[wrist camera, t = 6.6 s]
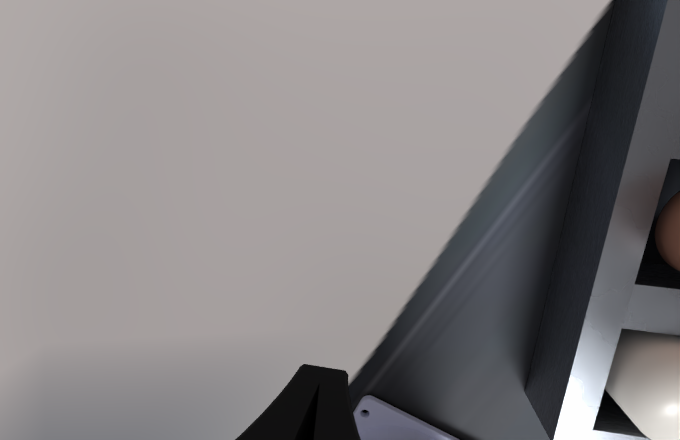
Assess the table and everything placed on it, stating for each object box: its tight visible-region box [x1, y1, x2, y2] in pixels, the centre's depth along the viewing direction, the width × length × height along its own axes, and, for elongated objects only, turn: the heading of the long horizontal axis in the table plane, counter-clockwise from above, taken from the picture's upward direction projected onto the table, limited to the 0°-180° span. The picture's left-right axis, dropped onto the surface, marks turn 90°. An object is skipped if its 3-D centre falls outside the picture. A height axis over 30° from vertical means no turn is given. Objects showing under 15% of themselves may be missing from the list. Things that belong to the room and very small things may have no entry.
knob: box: [605, 328, 680, 440], centre depth 17 cm, size 4×4×4 cm
